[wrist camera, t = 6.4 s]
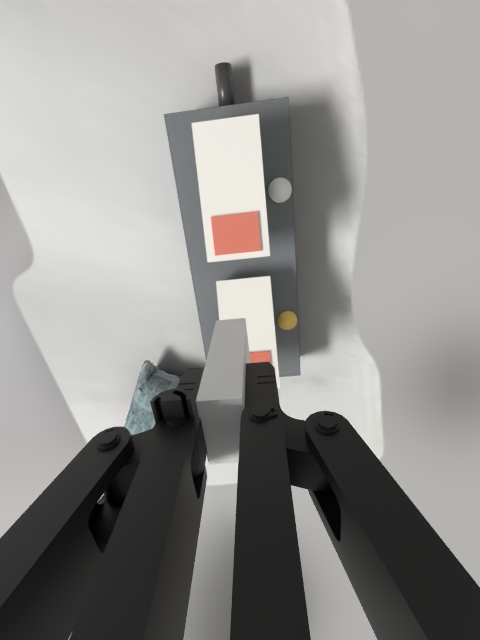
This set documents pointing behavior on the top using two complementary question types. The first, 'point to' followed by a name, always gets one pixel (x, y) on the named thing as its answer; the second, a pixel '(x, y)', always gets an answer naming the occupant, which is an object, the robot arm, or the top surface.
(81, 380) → the top surface
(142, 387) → the packaged food
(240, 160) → the rocker white
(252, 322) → the white switch paddle
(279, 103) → the rocker switch box
